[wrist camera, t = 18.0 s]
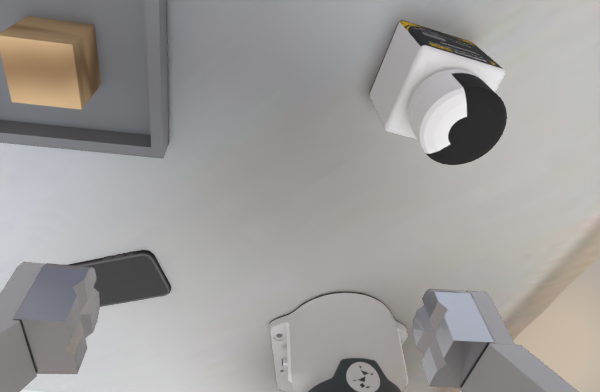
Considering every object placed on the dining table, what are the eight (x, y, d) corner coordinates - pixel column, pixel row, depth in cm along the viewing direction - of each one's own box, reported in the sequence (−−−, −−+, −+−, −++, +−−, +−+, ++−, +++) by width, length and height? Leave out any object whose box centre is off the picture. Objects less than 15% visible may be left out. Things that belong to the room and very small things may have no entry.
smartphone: (25, 274, 52) (149, 251, 51) (28, 268, 53) (151, 246, 51) (58, 315, 56) (173, 295, 55) (61, 309, 57) (175, 289, 56)
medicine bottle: (473, 42, 39) (541, 98, 30) (436, 114, 43) (485, 185, 34) (399, 18, 38) (444, 70, 28) (367, 95, 42) (397, 164, 32)
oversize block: (100, 84, 39) (81, 109, 35) (38, 77, 38) (11, 101, 34) (94, 24, 36) (72, 44, 32) (27, 15, 35) (-4, 35, 31)
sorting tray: (168, 142, 43) (163, 158, 41) (-12, 123, 41) (-29, 139, 39) (165, -44, 34) (157, -37, 32) (-67, -79, 32) (-94, -75, 30)
